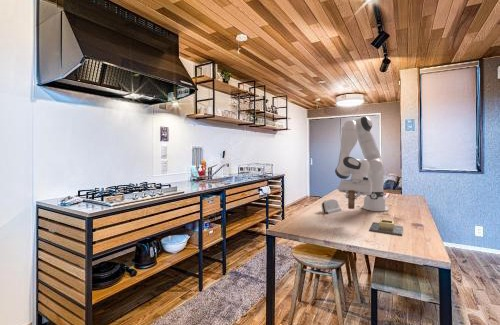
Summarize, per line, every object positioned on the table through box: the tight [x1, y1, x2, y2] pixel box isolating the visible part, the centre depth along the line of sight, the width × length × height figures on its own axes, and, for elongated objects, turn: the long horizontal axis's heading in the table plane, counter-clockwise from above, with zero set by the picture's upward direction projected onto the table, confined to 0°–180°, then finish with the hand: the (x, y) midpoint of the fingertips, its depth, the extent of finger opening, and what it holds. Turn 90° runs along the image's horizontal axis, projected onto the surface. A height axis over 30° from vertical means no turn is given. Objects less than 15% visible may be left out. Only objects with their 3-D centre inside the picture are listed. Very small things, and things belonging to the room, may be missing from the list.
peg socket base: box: [369, 219, 404, 237], centre depth 150 cm, size 16×16×4 cm
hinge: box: [320, 198, 343, 215], centre depth 192 cm, size 17×5×10 cm, turn 127°
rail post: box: [347, 190, 356, 210], centre depth 159 cm, size 4×4×11 cm
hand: (351, 198), depth 159 cm, fingers closed on rail post, 4 cm apart
